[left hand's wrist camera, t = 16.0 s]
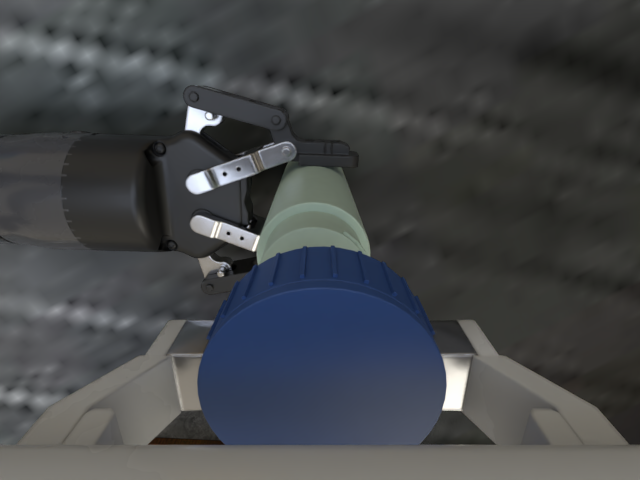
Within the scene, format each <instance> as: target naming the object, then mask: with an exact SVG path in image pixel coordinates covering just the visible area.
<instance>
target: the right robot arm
mask: <svg viewBox="0 0 640 480" xmlns="http://www.w3.org/2000/svg"><path fill="white" fill-rule="evenodd" d="M183 98H184V101H185V103H186V104H187V105H188V110H187V118H186V125H185V130H183V131H180V132H178V133H177V134H175V135H173V136H149V135H122V134H95V133H89V132H84V131H72V132H69V133H67V132H43V133H33V134H23V135H10V134H0V244H25V245H33V246H39V247H45V248H52V249H72V250H106V251H142V252H166V251H179V252H183V253H185V254H187V255H189V256H191V257H194V258H198V260H199V263H200V266H201V269H202V272H203V274H204V277H205V279H204V281H203V282H202V284H201V288H202V291H203V292H204V293H206V294H209V295H213V294H219V293H224V292H230V291H232V289H233V286H234V284H235V282H236V281H239V282H240V280H241V279H242V278H243V277H244V276H245V275H246V274H247V273H249V272H250V271H251V270H252V268H253V266H254V265H258V263H257V257H253V258H248V259H242V260H237V261H233V260H232V259H231V258H230V257H221V256H218V255H217V254H216V253H215V252H216V251H217V250H219V249H220V248H222V247H223V246H225V245H226V244H228V243H231V244H234V245H236V246H239V247H242V248H245V249H247V250H250V251H255V252H256V251H257V245H258V241H259V238H260V235H261V232H262V229H263V227H264V224H265V221H266V219H265V218H263V217H260V216H257V215H255V214H253V204H252V201H251V198H250V194H249V193H250V189H251V185H252V175H255V174H258V173H260V172H262V171H264V170H266V169H269V168H272V167H275V166H278V165H280V164H283V163H286V162H289V161H294V162H298V166H320V167H349V168H354V167H358V157H359V155H358V154H357V152H354V151H349V149H350V147H349V145H348V144H347V143H345V142H342V141H340V140H313V139H301V138H298V137H297V136H296V135H295V134H294V132H293V130H292V127H291V124H290V121H289V115H288V113H287V111H286V110H285V109H283V108H280V107H277V106H273V105H270V104H266V103H263V102H259V101H256V100H252V99H249V98H246V97H242V96H239V95H235V94H232V93H228V92H225V91H221V90H218V89H214V88H211V87H207V86H197V85H191V86H188V87H187V88H186V89H185V90H184V93H183ZM225 117H227V118H231V119H234V120H238V121H242V122H245V123H249V124H252V125H256V126H259V127H263V128H266V129H269V130H270V133H271V136H272V139H273V141H274V142H271V143H268V144H265V145H262V146H258V147H255V148H252V149H249V150H246V151H243V152H241V153H238V154H233V153H232V152H230V151H229V150H228V149H226V148H225V147H224V146H222V145H221V144H220V143H218V142H217V141H216V140H214V139H213V138H212V137H210V136H209V135H207V134H206V133H205V132H204V130H205V128H206V127H207V126H208V125H211V126H215V125H219V124H221V123H223V122H224V120H225ZM250 222H251V223H250Z"/></svg>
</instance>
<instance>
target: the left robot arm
mask: <svg viewBox="0 0 640 480" xmlns="http://www.w3.org/2000/svg"><path fill="white" fill-rule="evenodd" d="M214 321H215V320H170V321H168V322H167V323H166V325H165V326H164V328H163V329H162V331H161V332H160V334H159V335H158V337H157V338H156V340H155V341H154V343H153V344H152V345H151V347H150V348H149V350H148V351H147V353H146V354H145V356H138V357H136V358H134V359H132V360H131V361H129V362H127V363H125V364H124V365H122V366H120V367H118V368H117V369H115V370H113V371H111V372H109V373H108V374H106V375H104V376H102V377H101V378H99V379H97V380H95V381H94V382H92V383H90V384H88V385H86V386H85V387H83V388H81V389H79V390H78V391H76V392H74V393H72V394H71V395H69V396H67V397H65V398H64V399H62V400H60V401H58V402H56V403H55V404H53V405H51V406H49V407H48V408H47V410H46V411H45V412H44V413H43V414H42V415H41V416H40V418H39V419H38V420H37V421H36V422H35V423H34V424H33V426H32V427H31V428H30V429H29V430H28V431H27V432H26V434H25V435H24V436H23V437H22V438H21V439H20V441H19V442H18V443H17V444H16V445H0V480H640V445H629V444H628V442H627V441H626V440H625V439H624V438H623V437H622V436H621V435H620V433H619V432H618V431H617V430H616V429H615V428H614V427H613V425H612V424H611V423H610V422H609V421H608V420H607V419H606V417H605V416H604V415H603V414H602V413H601V412H600V411H599V410H598V408H597V407H595V406H593V405H591V404H590V403H588V402H586V401H584V400H583V399H581V398H579V397H577V396H575V395H574V394H572V393H570V392H568V391H567V390H565V389H563V388H561V387H559V386H558V385H556V384H554V383H552V382H551V381H549V380H547V379H545V378H543V377H542V376H540V375H538V374H536V373H535V372H533V371H531V370H529V369H528V368H526V367H524V366H522V365H520V364H519V363H517V362H515V361H513V360H512V359H510V358H508V357H506V356H499V355H498V353H497V352H496V350H495V349H494V347H493V346H492V345H491V343H490V342H489V340H488V339H487V337H486V336H485V335H484V333H483V332H482V330H481V329H480V327H479V326H478V325H477V323H476V322H475V321H474V320H451V321H430V323H431V325H432V328H433V330H434V332H435V334H434V335H433V338H434V340H435V342H436V344H437V346H438V349H439V351H440V353H441V356H442V358H443V361H444V366H445V370H446V380H447V388H446V396H445V401H444V405H443V408H442V410H452V411H462V412H463V413H464V414H465V415H466V416H467V417H468V418H469V419H470V420H471V421H472V422H473V423H474V424H475V425H476V426H477V427H478V428H479V429H481V430H482V431H483V432H484V433H485V434H486V435H487V436H488V437H489V438H490V439H491V440H492V441H493V442H494V443H495V444H496V445H148V444H149V443H150V442H151V441H152V440H153V439H154V438H155V437H156V436H157V435H158V434H159V433H160V432H161V431H162V430H163V429H164V428H165V427H167V426H168V425H169V424H170V423H171V422H172V421H173V420H174V419H175V418H176V417H177V416H178V415H179V414H180V413H181V411H191V410H202V409H201V406H200V402H199V397H198V388H197V378H198V370H199V365H200V362H201V359H202V355H203V353H204V351H205V349H206V346H207V344H208V342H209V340H208V339H206V338H207V336H208V333H209V331H210V329H211V327H212V325H213V323H214Z"/></svg>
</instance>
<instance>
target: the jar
mask: <svg viewBox="0 0 640 480" xmlns="http://www.w3.org/2000/svg"><path fill="white" fill-rule="evenodd" d="M331 245H332V246H335V247H338V248H343V249H348V250H353V251H356V252H358V251H361V252H362V254H365V255H368V256H370V245H369V241H368V237H367V235H366V232H365V229H364V226H363V224H362V221H361V218H360V216H359V213H358V210H357V208H356V205H355V202H354V200H353V197H352V194H351V192H350V189H349V186H348V183H347V181H346V178H345V175H344V173H343V170H342V168H341V167H320V166H298V162H294V161H289V162H288V164H287V166H286V168H285V170H284V173H283V176H282V178H281V181H280V184H279V186H278V189H277V192H276V194H275V197H274V200H273V202H272V205H271V208H270V210H269V213H268V216H267V219H266V221H265V224H264V227H263V229H262V232H261V235H260V238H259V241H258V245H257V263H258V265H259V264H261V263H263V262H264V261H266V260H268V259H269V258H272V257H274V256H276V254H277V253H279V252H280V254H281V253H284V252H288V251H291V250H295V249H300V248H303V246H307V247H322V246H326V247H331Z"/></svg>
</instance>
